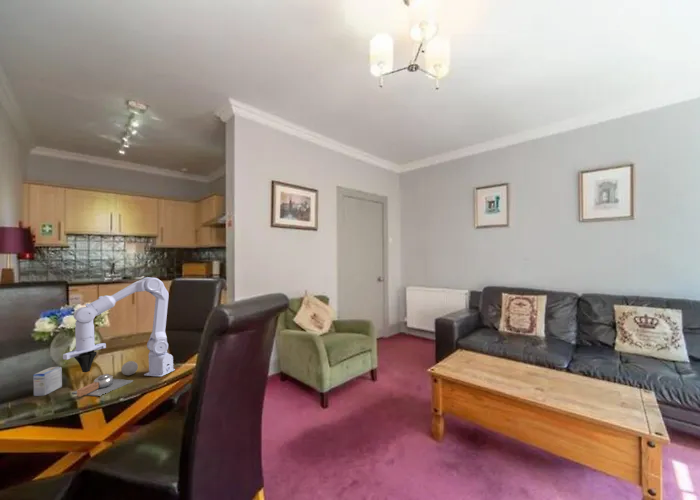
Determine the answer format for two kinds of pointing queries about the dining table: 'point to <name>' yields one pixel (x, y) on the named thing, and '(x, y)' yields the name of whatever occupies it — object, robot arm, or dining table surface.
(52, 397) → the dining table surface
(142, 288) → the robot arm
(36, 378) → the medicine box
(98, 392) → the lock base
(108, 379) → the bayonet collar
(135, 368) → the lightbulb
